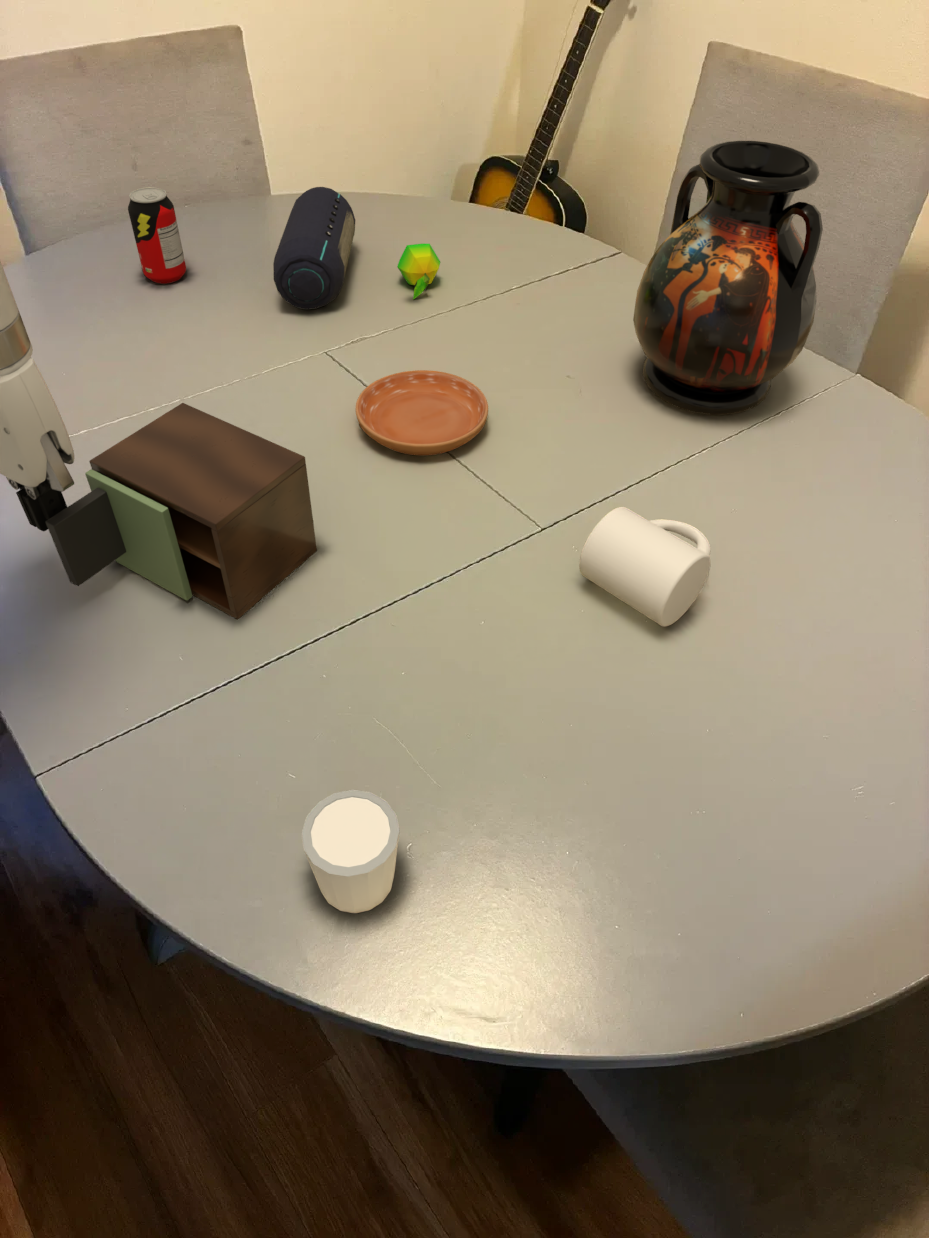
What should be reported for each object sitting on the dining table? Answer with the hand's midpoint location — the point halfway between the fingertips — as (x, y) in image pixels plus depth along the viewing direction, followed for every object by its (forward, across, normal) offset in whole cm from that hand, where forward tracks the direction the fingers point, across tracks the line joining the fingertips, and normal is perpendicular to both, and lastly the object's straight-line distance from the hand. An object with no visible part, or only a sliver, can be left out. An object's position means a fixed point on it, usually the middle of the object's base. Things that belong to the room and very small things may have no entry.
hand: (50, 520), depth 82 cm
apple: (+9, -8, +72) cm, 73 cm away
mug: (+8, +48, +32) cm, 58 cm away
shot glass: (+8, +43, -10) cm, 45 cm away
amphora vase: (+9, +38, +71) cm, 81 cm away
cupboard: (+8, +9, +11) cm, 16 cm away
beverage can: (+9, -41, +52) cm, 67 cm away
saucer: (+9, +13, +42) cm, 45 cm away
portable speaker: (+9, -22, +65) cm, 69 cm away
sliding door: (+8, +6, +1) cm, 10 cm away
